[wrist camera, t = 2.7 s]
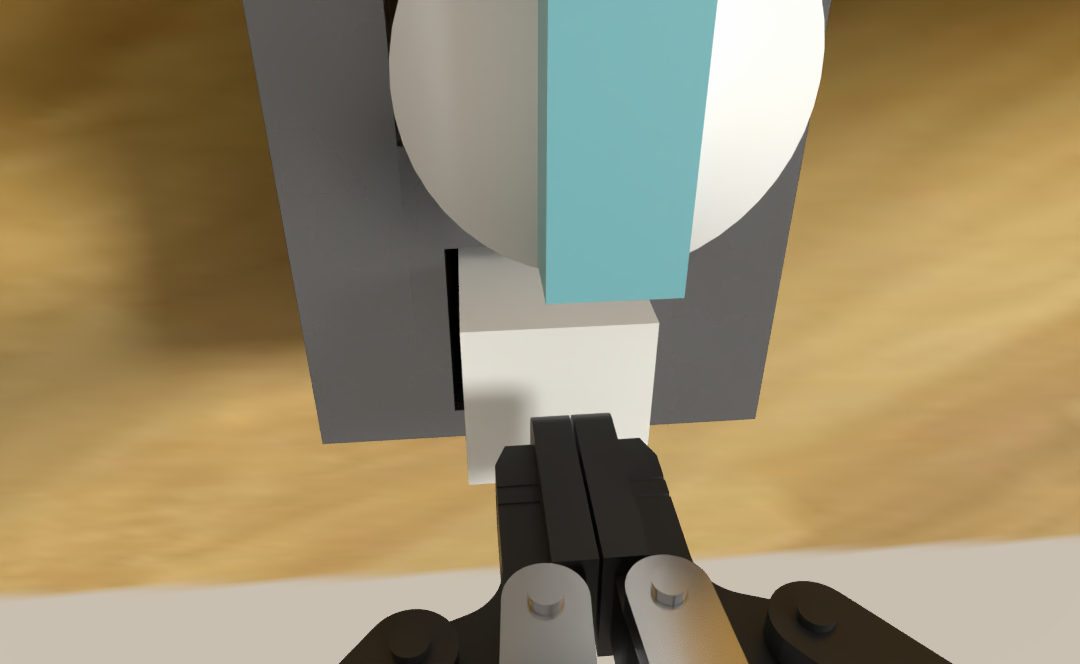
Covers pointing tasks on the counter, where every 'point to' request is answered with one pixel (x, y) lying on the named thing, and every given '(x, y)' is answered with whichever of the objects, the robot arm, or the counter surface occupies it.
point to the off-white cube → (545, 358)
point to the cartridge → (603, 126)
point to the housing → (429, 235)
